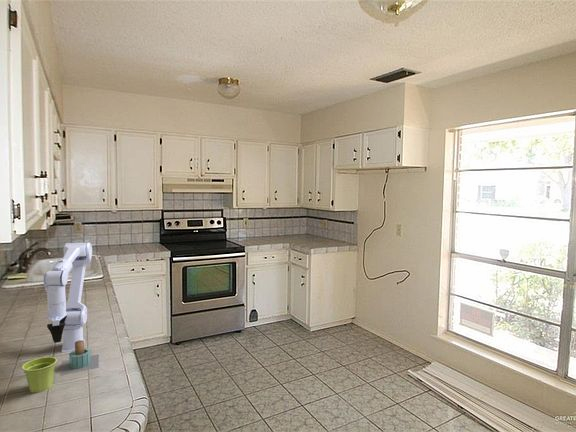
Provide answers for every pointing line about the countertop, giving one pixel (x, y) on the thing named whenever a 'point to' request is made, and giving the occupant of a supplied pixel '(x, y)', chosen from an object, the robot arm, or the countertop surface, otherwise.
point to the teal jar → (80, 359)
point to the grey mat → (68, 370)
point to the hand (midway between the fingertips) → (58, 338)
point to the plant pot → (40, 373)
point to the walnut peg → (79, 347)
